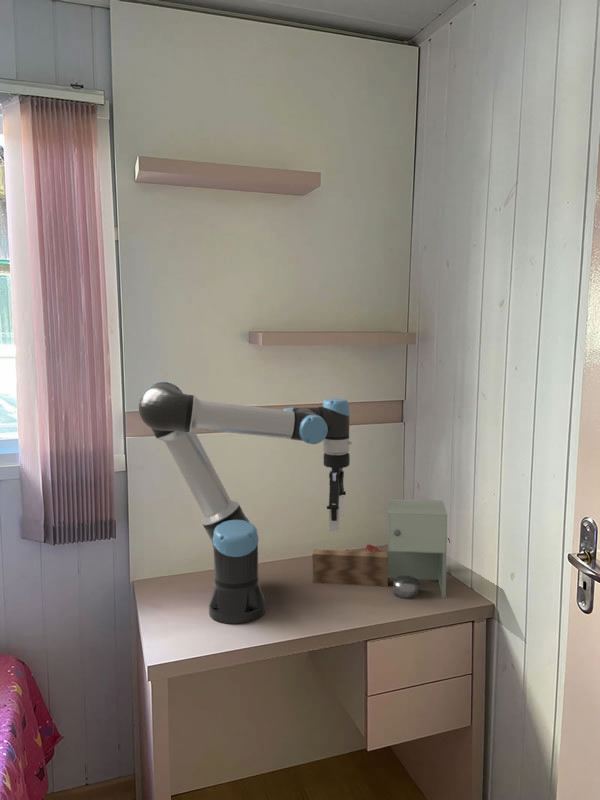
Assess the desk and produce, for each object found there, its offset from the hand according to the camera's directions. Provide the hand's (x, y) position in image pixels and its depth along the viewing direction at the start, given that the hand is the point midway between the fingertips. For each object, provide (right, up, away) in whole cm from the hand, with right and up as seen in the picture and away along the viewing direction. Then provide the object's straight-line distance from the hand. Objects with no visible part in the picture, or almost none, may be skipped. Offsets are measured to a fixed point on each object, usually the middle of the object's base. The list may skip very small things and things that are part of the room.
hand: (336, 523), depth 190 cm
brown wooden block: (+4, -18, +3) cm, 19 cm away
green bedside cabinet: (+23, -18, -2) cm, 29 cm away
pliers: (+12, -16, +19) cm, 28 cm away
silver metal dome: (+19, -19, -6) cm, 28 cm away
